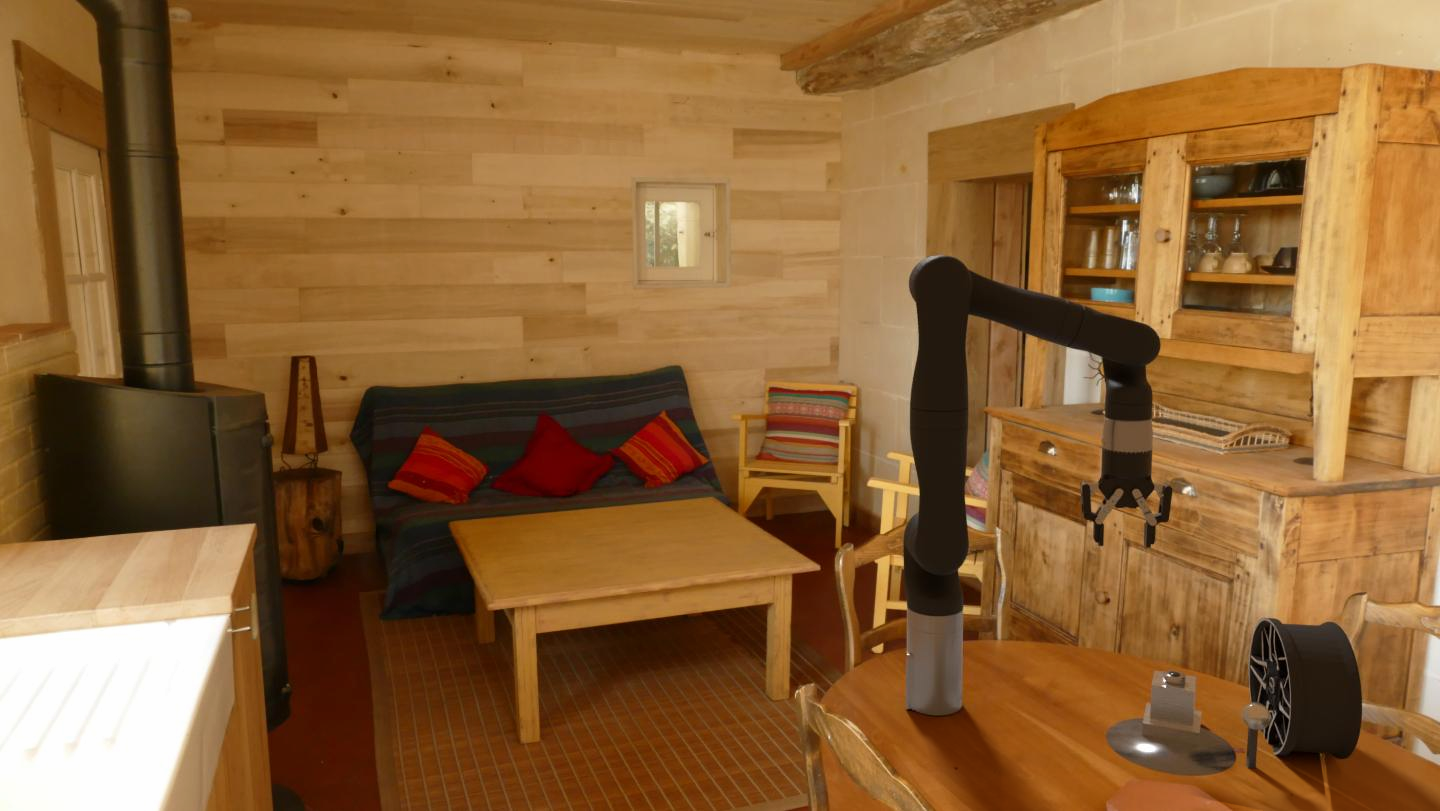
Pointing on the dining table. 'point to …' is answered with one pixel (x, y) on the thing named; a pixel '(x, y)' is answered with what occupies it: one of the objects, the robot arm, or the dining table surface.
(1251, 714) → the dial indicator post
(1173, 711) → the cover
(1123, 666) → the dining table surface
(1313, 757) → the dining table surface
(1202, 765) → the turntable
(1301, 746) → the wheel rim
